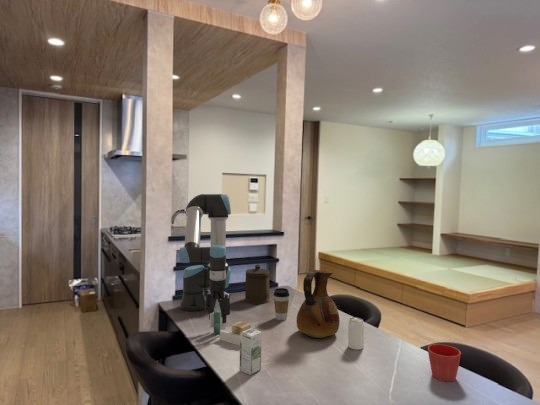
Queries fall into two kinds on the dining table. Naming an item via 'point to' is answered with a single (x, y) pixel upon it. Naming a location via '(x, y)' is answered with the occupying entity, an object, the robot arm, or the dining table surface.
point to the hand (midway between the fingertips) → (217, 328)
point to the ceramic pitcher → (317, 307)
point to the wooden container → (257, 285)
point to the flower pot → (444, 361)
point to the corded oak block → (236, 327)
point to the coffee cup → (281, 303)
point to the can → (356, 333)
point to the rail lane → (230, 337)
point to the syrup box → (250, 351)
